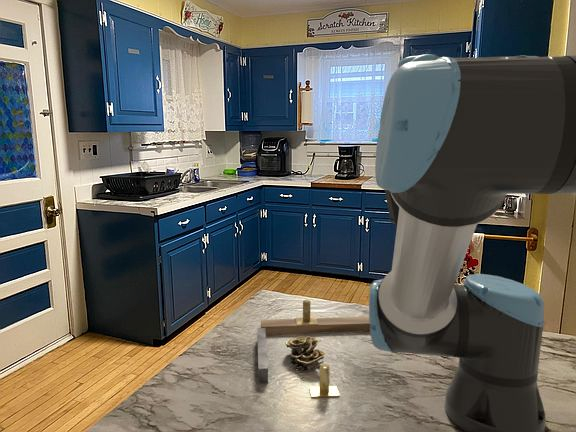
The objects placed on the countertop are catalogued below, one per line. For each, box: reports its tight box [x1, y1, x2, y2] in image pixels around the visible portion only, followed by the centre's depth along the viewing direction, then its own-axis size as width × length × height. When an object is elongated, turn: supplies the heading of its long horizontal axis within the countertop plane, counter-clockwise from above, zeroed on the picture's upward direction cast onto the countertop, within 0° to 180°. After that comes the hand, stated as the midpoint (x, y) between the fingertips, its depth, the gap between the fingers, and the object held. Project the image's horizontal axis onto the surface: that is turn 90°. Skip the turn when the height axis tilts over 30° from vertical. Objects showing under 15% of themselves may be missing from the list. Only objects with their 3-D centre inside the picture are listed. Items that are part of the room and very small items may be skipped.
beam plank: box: [260, 299, 370, 336], centre depth 107 cm, size 4×30×7 cm, turn 94°
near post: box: [309, 364, 340, 399], centre depth 81 cm, size 3×5×5 cm, turn 94°
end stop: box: [256, 327, 269, 384], centre depth 93 cm, size 18×2×3 cm, turn 5°
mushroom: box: [284, 335, 326, 373], centre depth 93 cm, size 12×8×4 cm, turn 2°
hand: (408, 258), depth 90 cm, fingers closed
